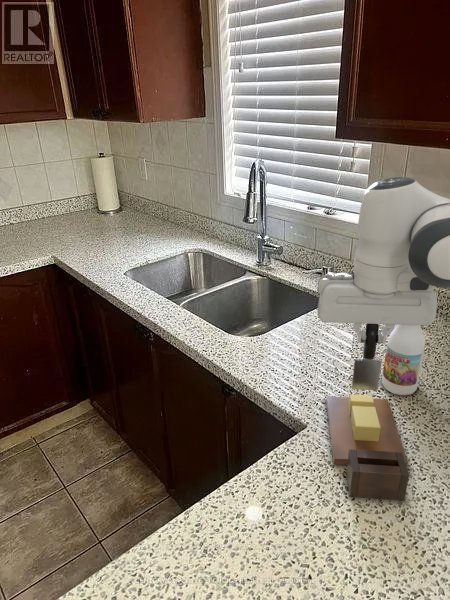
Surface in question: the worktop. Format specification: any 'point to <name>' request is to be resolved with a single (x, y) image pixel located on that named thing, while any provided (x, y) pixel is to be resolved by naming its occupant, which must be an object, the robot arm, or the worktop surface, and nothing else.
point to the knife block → (377, 474)
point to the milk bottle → (403, 359)
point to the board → (344, 434)
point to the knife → (367, 363)
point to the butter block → (365, 423)
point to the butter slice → (360, 401)
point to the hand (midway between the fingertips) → (370, 341)
